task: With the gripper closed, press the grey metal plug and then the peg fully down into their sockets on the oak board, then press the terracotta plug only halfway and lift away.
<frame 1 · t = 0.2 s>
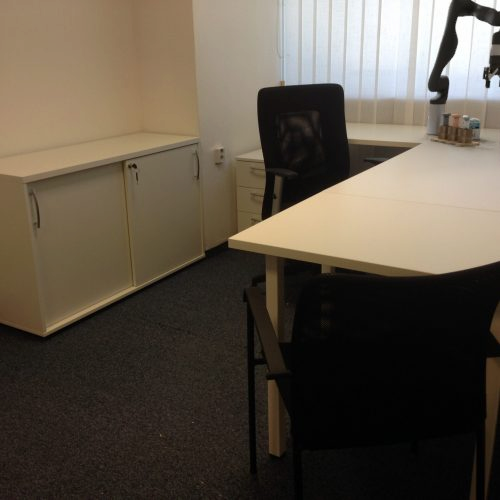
hand: (494, 87, 296), 29 cm above the table, tool pointing down, fingers open, 8 cm apart
plug grey: (466, 125, 303), point 10 cm above the table, slide at 0.0 cm
light bulb box: (470, 138, 326), on the table
plug terracotta: (455, 123, 310), point 10 cm above the table, slide at 0.0 cm
socket board: (454, 142, 314), on the table
peg: (445, 121, 317), point 10 cm above the table, slide at 0.0 cm
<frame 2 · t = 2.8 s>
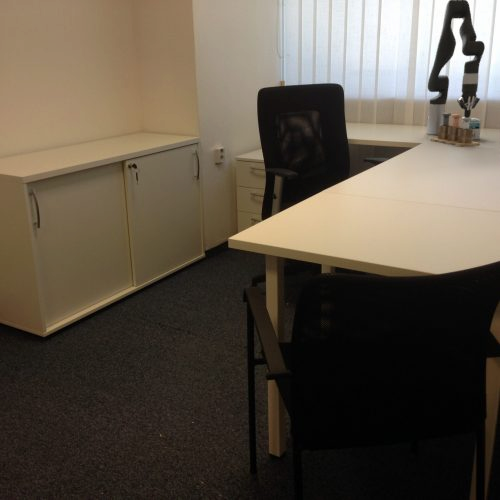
hand: (467, 117, 302), 14 cm above the table, tool pointing down, fingers closed
plug grey: (466, 126, 303), point 10 cm above the table, slide at -0.6 cm, touching gripper
everything else where it was.
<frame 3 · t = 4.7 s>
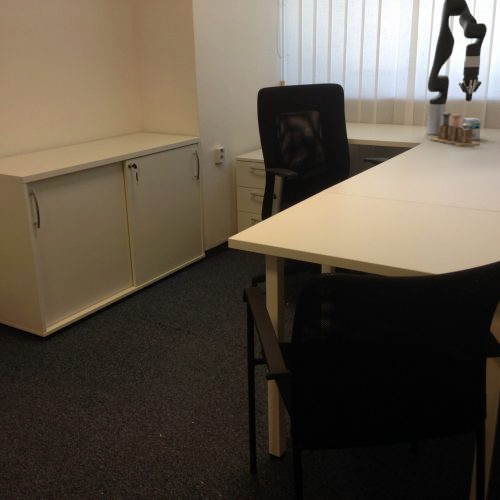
hand: (468, 101, 299), 22 cm above the table, tool pointing down, fingers closed
plug grey: (465, 132, 304), point 6 cm above the table, slide at -4.0 cm
everything else where it was.
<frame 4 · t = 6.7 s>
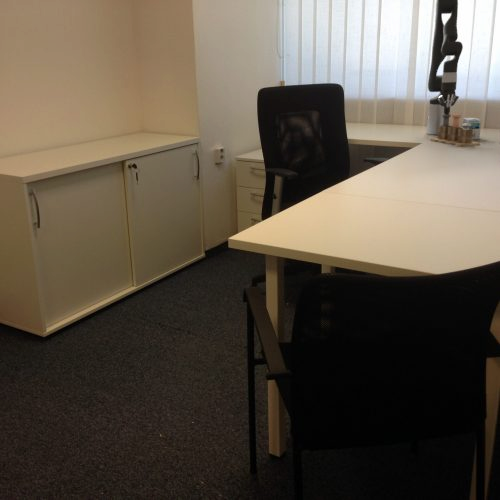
hand: (446, 114, 316), 14 cm above the table, tool pointing down, fingers closed
peg: (445, 122, 317), point 10 cm above the table, slide at -0.5 cm, touching gripper
everything else where it was.
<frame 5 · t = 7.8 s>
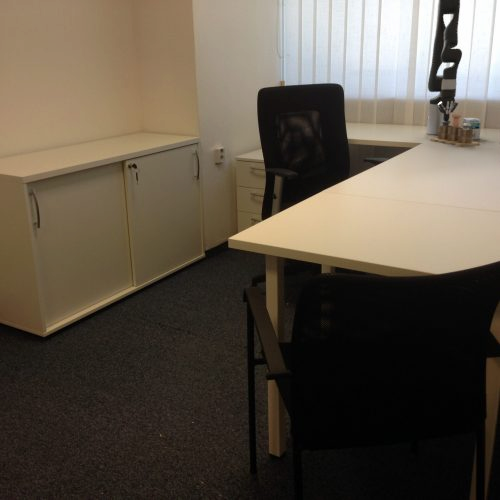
hand: (446, 120, 317), 11 cm above the table, tool pointing down, fingers closed
peg: (445, 129, 319), point 6 cm above the table, slide at -4.0 cm, touching gripper
everything else where it was.
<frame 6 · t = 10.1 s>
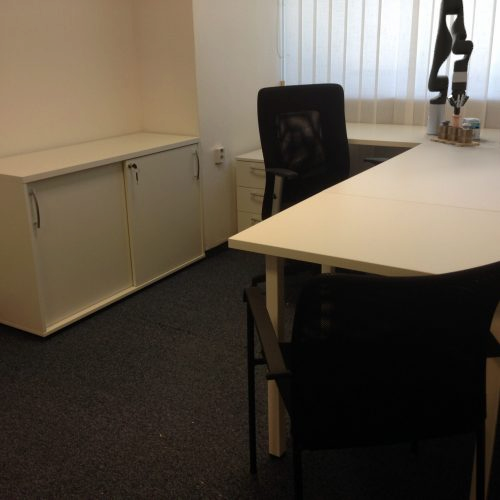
hand: (456, 114, 309), 15 cm above the table, tool pointing down, fingers closed
plug terracotta: (455, 123, 310), point 10 cm above the table, slide at 0.0 cm, touching gripper
peg: (445, 129, 319), point 6 cm above the table, slide at -4.0 cm
everything else where it was.
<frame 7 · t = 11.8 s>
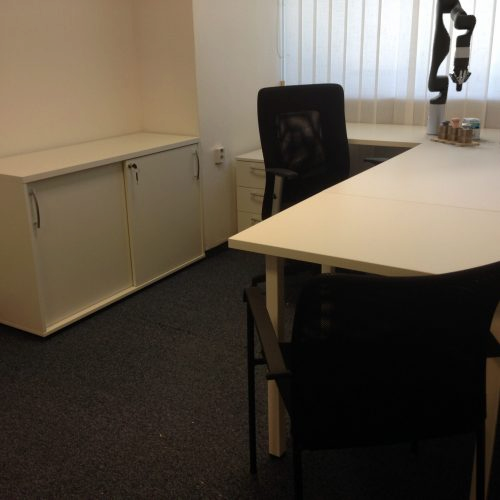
hand: (458, 91, 305), 27 cm above the table, tool pointing down, fingers closed
plug terracotta: (455, 127, 311), point 8 cm above the table, slide at -1.9 cm
everything else where it was.
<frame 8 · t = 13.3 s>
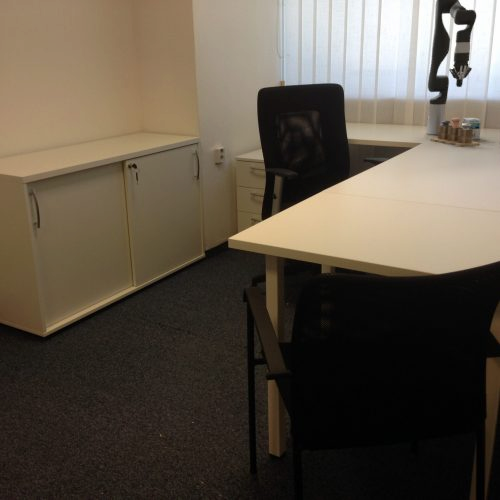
hand: (459, 86, 304), 29 cm above the table, tool pointing down, fingers closed
nothing on the table moved.
at the end: plug grey slide at -4.0 cm; peg slide at -4.0 cm; plug terracotta slide at -1.9 cm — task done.
